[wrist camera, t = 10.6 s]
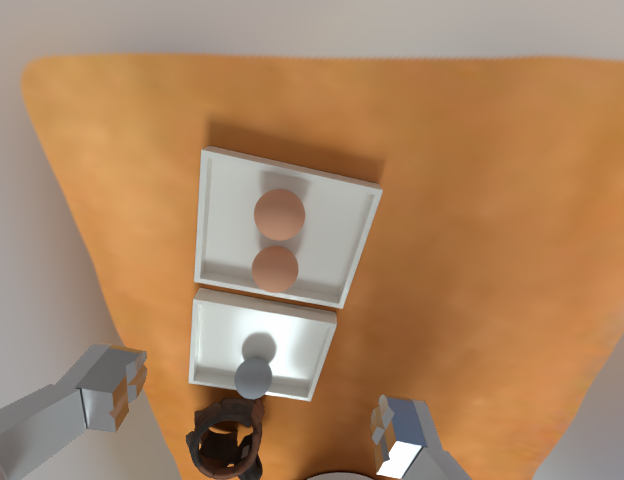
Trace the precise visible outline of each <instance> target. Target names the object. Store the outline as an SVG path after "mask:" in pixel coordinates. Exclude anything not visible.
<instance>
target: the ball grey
mask: <svg viewBox="0 0 624 480" xmlns="http://www.w3.org/2000/svg"><path fill="white" fill-rule="evenodd" d="M272 378H273V376H272V370H271V368H270V366H269V364H268V363H267V362H266V361H264V360H263V359H260V358H250V359H247V360H245V361H244V362H242V363H241V364H240V366H239V367H238V368H237V370H236V373H235V377H234V383H235V387H236V390H237V391H238V393H239V394H240V395H241V396H243V397H244V398H247V399H257V398H260V397H261V396H263V395H264V394H265V393H266V392H267V391H268V390H269V388H270V386H271V384H272Z"/></svg>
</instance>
